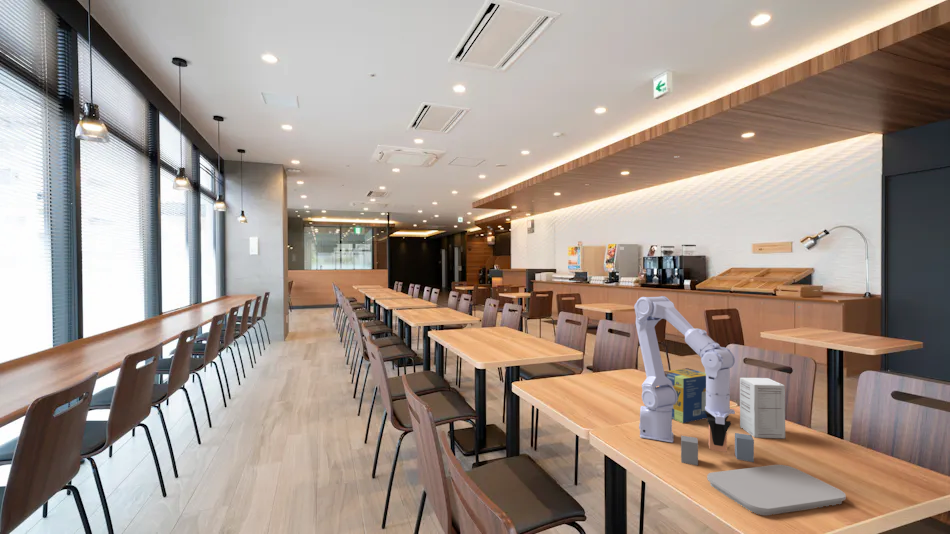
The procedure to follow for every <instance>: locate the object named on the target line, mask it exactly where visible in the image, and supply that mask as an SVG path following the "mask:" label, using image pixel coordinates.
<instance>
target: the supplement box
mask: <svg viewBox="0 0 950 534" xmlns="http://www.w3.org/2000/svg"><path fill="white" fill-rule="evenodd" d="M739 427H740V428H741V429H742V428H743V429H742V430H744V431H745V432H746V433H748V435H752V438H756V439H757V438H762V439H786V386H785V384H782V383H780V382H777V380H773V379H771V378H769V377H739Z"/></svg>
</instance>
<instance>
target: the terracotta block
mask: <svg viewBox="0 0 950 534" xmlns="http://www.w3.org/2000/svg"><path fill="white" fill-rule="evenodd" d="M727 432H728V431H727ZM727 432H726V435H725V440H724V444H723V446H718V445H714V443H713V439H712V432H711V428H710V425H709V424H708V448H709V450H712V451H717V452H723V453H727V451H728V450H727V447H728V445H727V444H728V443H727V442H728V439H727V438H728V436H727V435H728V433H727Z"/></svg>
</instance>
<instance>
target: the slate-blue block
mask: <svg viewBox="0 0 950 534" xmlns="http://www.w3.org/2000/svg"><path fill="white" fill-rule="evenodd" d="M754 452H755V440H754V437H753V436H752V435H751V434H747V433H746V434H745V433H739V432H734V454H735V455H734V456H735V458H736V460H737V461H738V460H740V461H745V462H751V463H754V462H755V459H754V458H755V454H754Z"/></svg>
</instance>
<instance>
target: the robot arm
mask: <svg viewBox="0 0 950 534" xmlns="http://www.w3.org/2000/svg"><path fill="white" fill-rule="evenodd" d="M633 307H634V312H635V327H636V332H637V338H638V342H639V347H640V352H641V357H642V361H643V365H644V370H645V377H646V378H645V380H644V381H643V382H642V384H641V389H642V392H641V401H642V404H644V405H640V410H639V411H640V412H639V423H638V424H639V426H638V429H639V437H640V438H642V439H648V440H655V441H660V442H668V443H674V432H673V419H672V409H673V405H674V404H675V403H676V402H677V398H678V397H677V393H676V391H675V389H674V388H673V385H672V381H671V380H669V379H668V378H667V377H666V376H665V374H664V371H665V369H664V366H663V361H662V356H661V352H660V346H659V343H658V342H659V341H658V337H657V334H656V333H657V332H656V328H655V326H656V325H657V324H658V323H659V322H660V321H661V320H662V319H663V320H665V321H667V322H668V323H670V325H672V326H673V327H674V328H675V329H676V330H677V331H678V332H679V333H681V334H682V335H683V336H684V342H685V343H686V345H688V346H689V347H690V348H691V349H692V350H693V351H694V352H695V353H696V354H697V356H699V357H700V362H701V364H702V366H703V367H704V373H706V406H705V410H706V411H705V414H706V415H707V418H706V421H707V423H708V426H709V425H710V428H711V432H712V439H713V443H714V445H718V446H723V444H724V440H725V435H726V432H728V430H729V428H730V427H731V425H732V423H731V422H732V421H730V420H729V421H728V418H729V416H730V415H735V414H736V411H735V409H731V408H730V407H731V402H730V401H731V368H732V367H733V366H734V365H735V362H736V359H735V356H734V354H733V352H732V351H731V349H729V348H728V347H724V346H720V344H719V343H718V342H716V341H715V340H713V338H711V337H710V336H709V335H708V332H707V331H706V330H705V329H702V328H694V327H693V325H692V324H691V323H690V322H689V321H688V320H687V319H686V318H685V317H684V316H683V314H682V313H680V311H679V310H678V309H677V308H676V307H675V303H674V302H673V301H671V300H670V299H669V298H668V297H667V296H664V295H661V296H660V295H659V296H641V297H639V298H638V299H637V301H636V303H634V306H633ZM659 386H660V387H659Z"/></svg>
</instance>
